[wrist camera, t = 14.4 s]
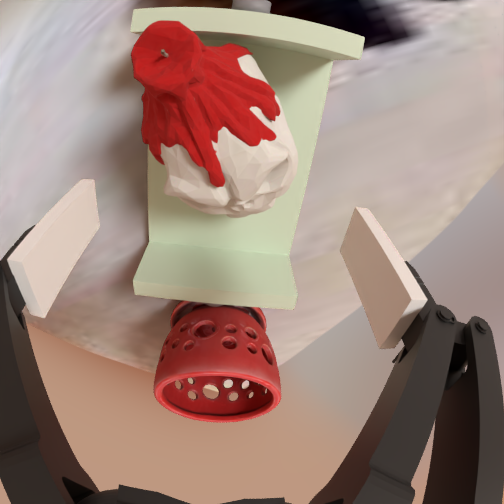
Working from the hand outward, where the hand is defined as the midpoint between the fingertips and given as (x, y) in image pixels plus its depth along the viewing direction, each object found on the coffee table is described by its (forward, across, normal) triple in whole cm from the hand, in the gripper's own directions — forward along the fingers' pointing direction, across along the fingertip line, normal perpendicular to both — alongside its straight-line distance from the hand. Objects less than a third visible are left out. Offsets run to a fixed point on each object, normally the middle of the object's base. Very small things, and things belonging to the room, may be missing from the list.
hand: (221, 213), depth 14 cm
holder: (+13, 0, -1) cm, 13 cm away
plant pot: (+13, +1, -22) cm, 25 cm away
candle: (+12, +1, -1) cm, 12 cm away
